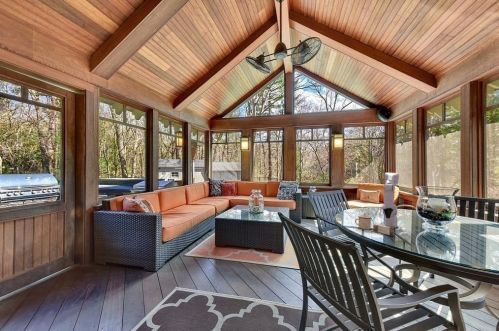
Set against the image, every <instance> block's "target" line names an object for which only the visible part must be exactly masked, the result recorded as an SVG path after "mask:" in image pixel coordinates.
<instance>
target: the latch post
mask: <svg viewBox="0 0 499 331" xmlns="http://www.w3.org/2000/svg"><path fill="white" fill-rule="evenodd" d="M378 225H379V224H378ZM378 225H374V224H373V225H372V231H373V232H375V233H378V232H377V228H378Z"/></svg>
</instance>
